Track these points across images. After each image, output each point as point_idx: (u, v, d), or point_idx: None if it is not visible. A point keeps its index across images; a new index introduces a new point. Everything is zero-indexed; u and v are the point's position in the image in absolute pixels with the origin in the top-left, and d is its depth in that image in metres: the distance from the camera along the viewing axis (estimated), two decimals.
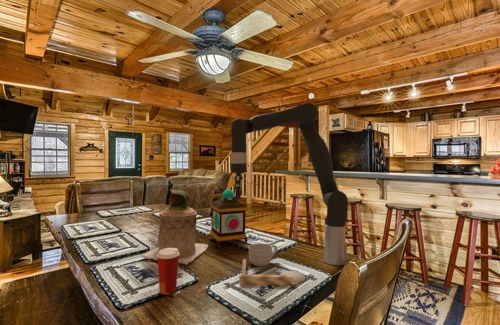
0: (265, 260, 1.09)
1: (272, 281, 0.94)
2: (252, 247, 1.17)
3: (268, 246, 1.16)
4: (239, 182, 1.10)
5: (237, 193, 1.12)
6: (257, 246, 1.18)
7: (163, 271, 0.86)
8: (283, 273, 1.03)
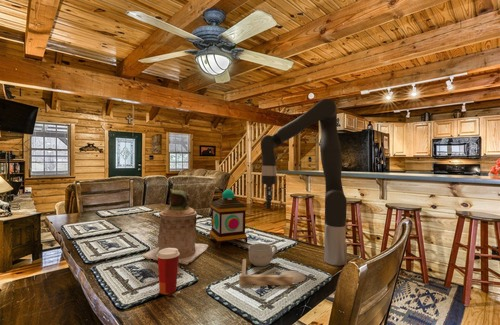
0: (265, 260, 1.09)
1: (272, 281, 0.94)
2: (252, 247, 1.17)
3: (268, 246, 1.16)
4: (270, 196, 1.24)
5: (268, 204, 1.27)
6: (257, 246, 1.18)
7: (163, 271, 0.86)
8: (283, 273, 1.03)
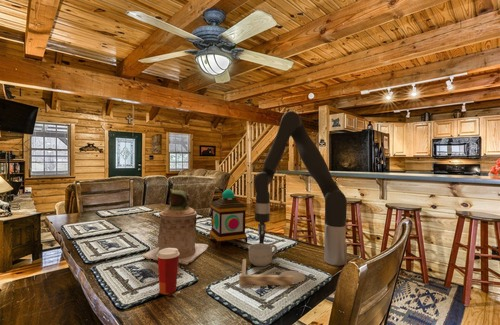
0: (265, 260, 1.09)
1: (272, 281, 0.94)
2: (252, 247, 1.17)
3: (268, 246, 1.16)
4: (263, 235, 1.23)
5: (261, 241, 1.26)
6: (257, 246, 1.18)
7: (163, 271, 0.86)
8: (283, 273, 1.03)
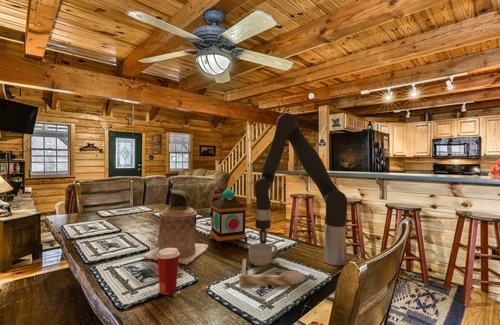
0: (265, 260, 1.09)
1: (272, 281, 0.94)
2: (252, 247, 1.17)
3: (268, 246, 1.16)
4: (264, 242, 1.19)
5: None
6: (257, 246, 1.18)
7: (163, 271, 0.86)
8: (283, 273, 1.03)
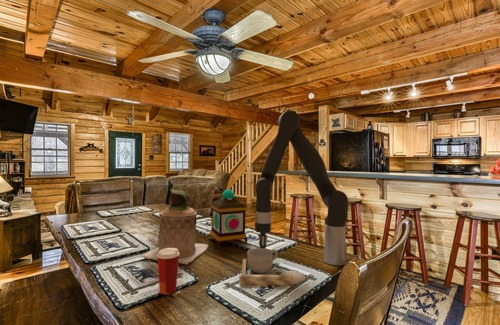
0: (266, 266, 1.02)
1: (272, 281, 0.94)
2: (251, 252, 1.10)
3: (268, 251, 1.10)
4: (264, 247, 1.12)
5: None
6: (256, 251, 1.12)
7: (163, 271, 0.86)
8: (283, 273, 1.03)
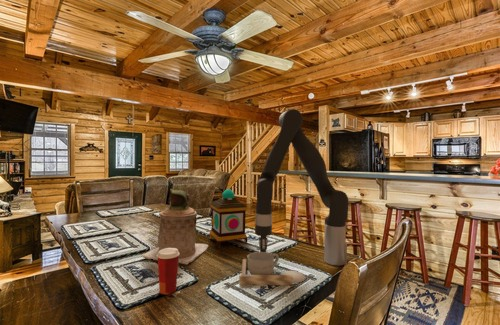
0: (267, 271, 0.98)
1: (272, 281, 0.94)
2: (251, 256, 1.06)
3: (269, 255, 1.05)
4: (265, 251, 1.08)
5: None
6: (257, 255, 1.07)
7: (163, 271, 0.86)
8: (283, 273, 1.03)
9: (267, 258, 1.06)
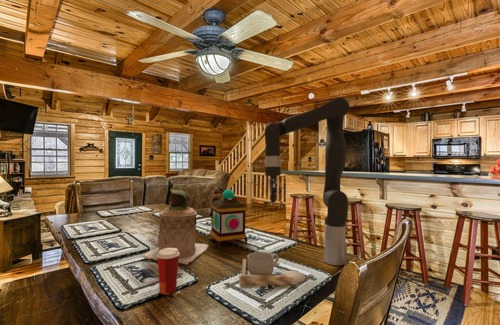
0: (267, 271, 0.98)
1: (272, 281, 0.94)
2: (251, 256, 1.06)
3: (269, 255, 1.05)
4: (275, 189, 1.15)
5: (273, 197, 1.19)
6: (256, 255, 1.07)
7: (163, 271, 0.86)
8: (283, 273, 1.03)
9: (267, 258, 1.06)
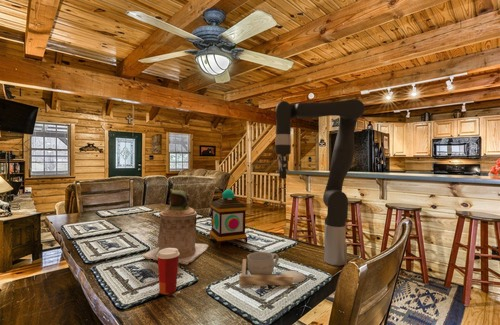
0: (267, 271, 0.98)
1: (272, 281, 0.94)
2: (251, 256, 1.06)
3: (269, 255, 1.05)
4: (286, 162, 1.14)
5: (283, 173, 1.16)
6: (256, 255, 1.07)
7: (163, 271, 0.86)
8: (283, 273, 1.03)
9: (267, 258, 1.06)
